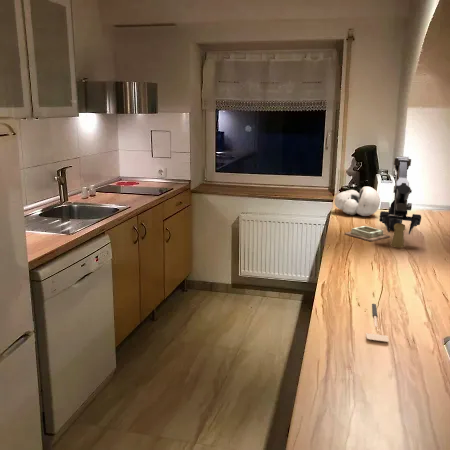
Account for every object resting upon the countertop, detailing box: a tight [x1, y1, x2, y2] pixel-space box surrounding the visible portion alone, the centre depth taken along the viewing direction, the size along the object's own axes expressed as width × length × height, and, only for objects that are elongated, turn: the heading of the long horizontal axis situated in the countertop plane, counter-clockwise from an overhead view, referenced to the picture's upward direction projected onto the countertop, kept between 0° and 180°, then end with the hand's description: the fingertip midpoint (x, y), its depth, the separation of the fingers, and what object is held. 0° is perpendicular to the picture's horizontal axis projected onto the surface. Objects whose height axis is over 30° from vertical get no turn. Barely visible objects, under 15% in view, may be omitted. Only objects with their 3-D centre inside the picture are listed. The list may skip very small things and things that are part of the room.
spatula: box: [365, 303, 389, 343], centre depth 157 cm, size 6×29×2 cm, turn 166°
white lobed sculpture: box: [334, 186, 381, 217], centre depth 303 cm, size 20×25×22 cm
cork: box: [390, 223, 406, 249], centre depth 240 cm, size 6×6×11 cm
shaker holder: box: [344, 225, 390, 242], centre depth 258 cm, size 16×16×3 cm
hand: (399, 233), depth 239 cm, fingers open, 9 cm apart
